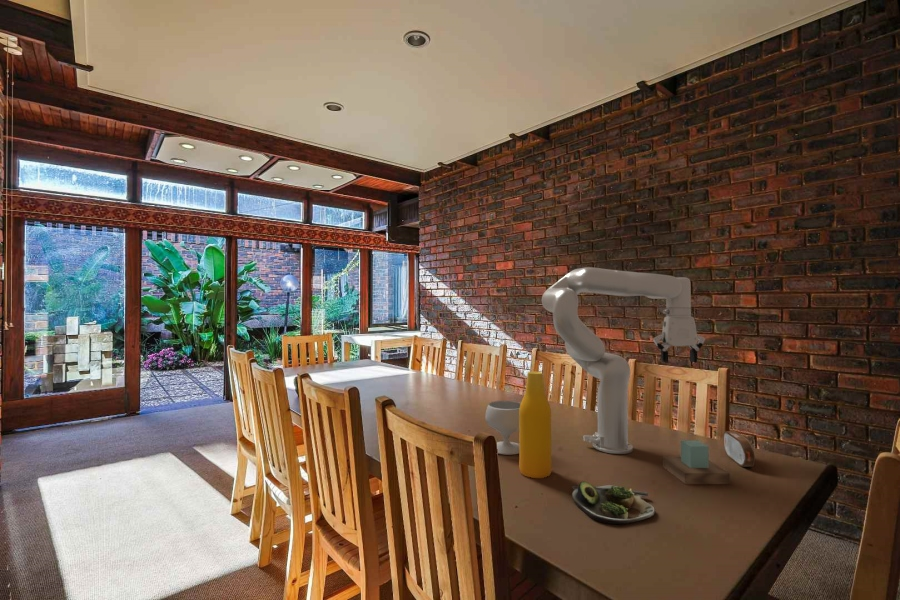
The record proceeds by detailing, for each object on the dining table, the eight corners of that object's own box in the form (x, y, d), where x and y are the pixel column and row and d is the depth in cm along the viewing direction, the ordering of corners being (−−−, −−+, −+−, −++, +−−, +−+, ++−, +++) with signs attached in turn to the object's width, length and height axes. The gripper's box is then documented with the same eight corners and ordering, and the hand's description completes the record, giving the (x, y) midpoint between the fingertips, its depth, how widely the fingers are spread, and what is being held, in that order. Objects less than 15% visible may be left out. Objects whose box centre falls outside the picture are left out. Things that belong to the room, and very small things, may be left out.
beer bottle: (516, 476, 119) (515, 374, 119) (522, 464, 128) (521, 369, 128) (549, 481, 116) (549, 376, 116) (553, 468, 125) (552, 370, 125)
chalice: (536, 451, 139) (536, 405, 139) (504, 460, 131) (504, 412, 131) (507, 439, 151) (507, 397, 151) (477, 447, 143) (476, 403, 143)
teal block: (690, 467, 117) (690, 446, 117) (680, 461, 122) (680, 440, 122) (708, 467, 117) (708, 446, 117) (698, 461, 122) (698, 440, 122)
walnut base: (685, 484, 114) (685, 473, 114) (662, 466, 126) (662, 456, 126) (729, 484, 114) (729, 473, 114) (703, 466, 125) (703, 456, 126)
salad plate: (627, 486, 113) (627, 469, 113) (676, 520, 96) (676, 499, 96) (561, 494, 109) (561, 476, 109) (600, 530, 92) (600, 509, 92)
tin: (756, 471, 122) (755, 442, 122) (743, 471, 122) (743, 442, 122) (732, 453, 136) (732, 427, 136) (721, 452, 137) (721, 427, 137)
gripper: (658, 313, 142) (658, 364, 142) (710, 313, 142) (710, 363, 142) (648, 312, 150) (649, 360, 150) (697, 312, 149) (698, 360, 149)
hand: (679, 362), depth 146 cm, fingers open, 9 cm apart
